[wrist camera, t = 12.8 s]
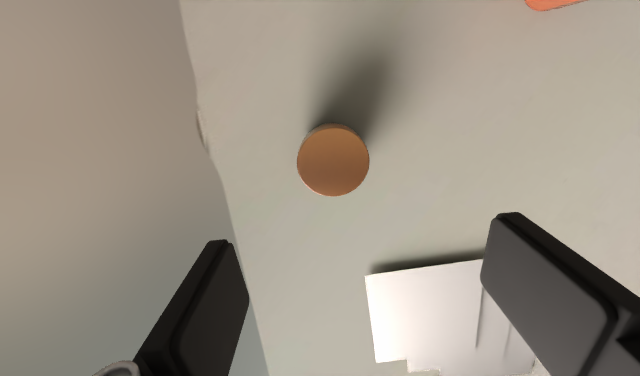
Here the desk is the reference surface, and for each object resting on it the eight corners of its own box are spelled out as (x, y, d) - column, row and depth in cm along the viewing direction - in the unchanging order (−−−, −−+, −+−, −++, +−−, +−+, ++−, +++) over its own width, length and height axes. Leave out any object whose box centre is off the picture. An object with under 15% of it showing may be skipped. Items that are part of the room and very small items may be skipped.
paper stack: (566, 242, 29) (572, 246, 28) (530, 372, 39) (533, 377, 38) (363, 271, 30) (364, 275, 30) (379, 390, 40) (380, 395, 40)
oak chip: (293, 127, 21) (291, 132, 20) (364, 119, 21) (368, 123, 19) (303, 191, 24) (302, 200, 22) (366, 184, 24) (370, 193, 22)
